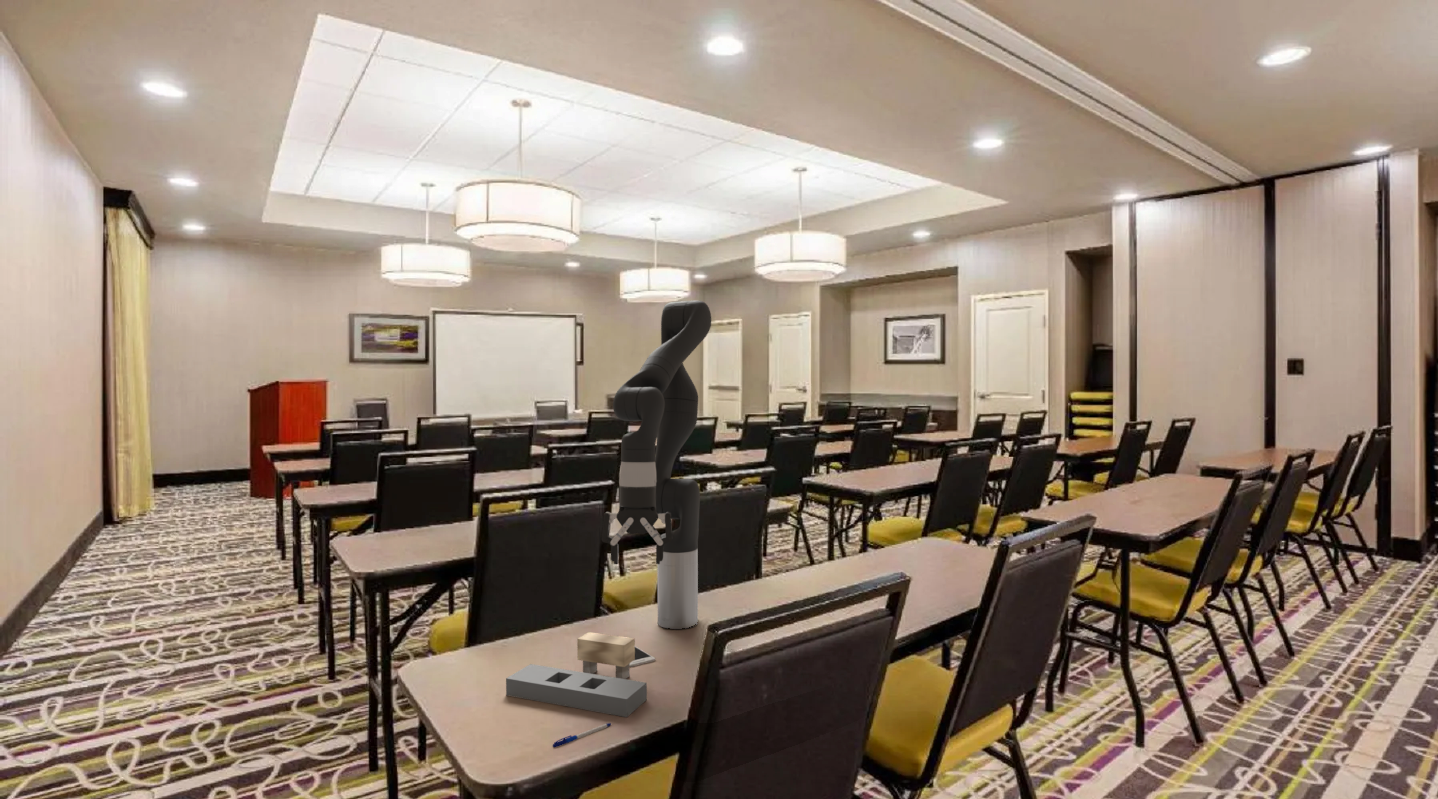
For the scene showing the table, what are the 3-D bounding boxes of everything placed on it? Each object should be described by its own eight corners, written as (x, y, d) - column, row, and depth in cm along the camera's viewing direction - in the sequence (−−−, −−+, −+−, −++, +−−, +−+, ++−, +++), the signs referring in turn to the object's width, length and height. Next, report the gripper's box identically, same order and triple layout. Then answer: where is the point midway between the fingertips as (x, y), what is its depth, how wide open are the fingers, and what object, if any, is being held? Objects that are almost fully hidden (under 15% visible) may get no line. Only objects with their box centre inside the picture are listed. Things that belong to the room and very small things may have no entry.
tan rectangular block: (577, 675, 138) (577, 638, 138) (588, 668, 142) (588, 632, 142) (624, 683, 134) (624, 645, 134) (634, 675, 138) (634, 638, 138)
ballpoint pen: (555, 750, 110) (555, 743, 110) (551, 748, 111) (551, 741, 111) (611, 727, 118) (611, 720, 118) (608, 725, 118) (608, 719, 118)
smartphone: (619, 640, 158) (619, 636, 158) (656, 662, 146) (656, 657, 146) (589, 647, 154) (589, 643, 154) (624, 670, 142) (624, 665, 142)
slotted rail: (506, 695, 129) (506, 678, 129) (530, 679, 136) (530, 663, 136) (626, 717, 121) (626, 699, 121) (646, 699, 127) (646, 682, 127)
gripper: (673, 483, 155) (672, 560, 154) (605, 482, 154) (604, 560, 153) (672, 485, 147) (671, 567, 146) (600, 485, 147) (599, 566, 146)
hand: (636, 563), depth 150 cm, fingers open, 8 cm apart
